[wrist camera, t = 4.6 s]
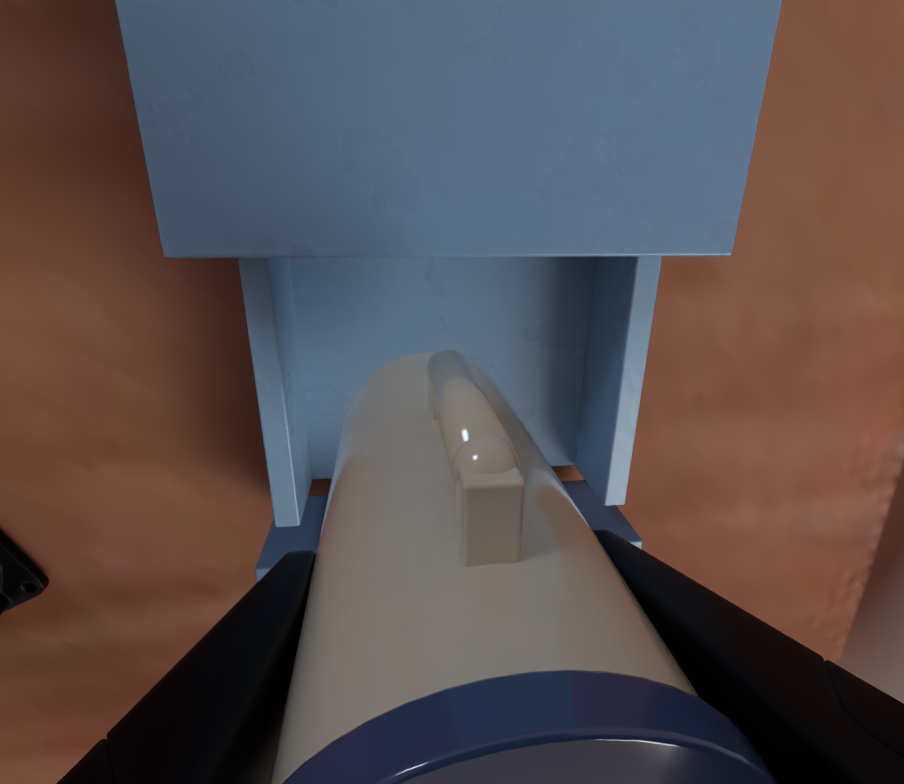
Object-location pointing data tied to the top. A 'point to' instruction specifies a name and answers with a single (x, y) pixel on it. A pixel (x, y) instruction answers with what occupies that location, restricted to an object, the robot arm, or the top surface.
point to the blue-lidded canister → (478, 615)
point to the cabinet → (447, 125)
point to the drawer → (459, 328)
